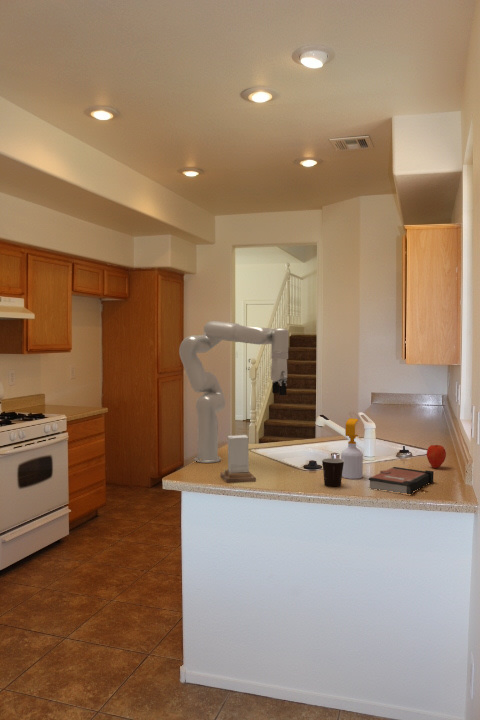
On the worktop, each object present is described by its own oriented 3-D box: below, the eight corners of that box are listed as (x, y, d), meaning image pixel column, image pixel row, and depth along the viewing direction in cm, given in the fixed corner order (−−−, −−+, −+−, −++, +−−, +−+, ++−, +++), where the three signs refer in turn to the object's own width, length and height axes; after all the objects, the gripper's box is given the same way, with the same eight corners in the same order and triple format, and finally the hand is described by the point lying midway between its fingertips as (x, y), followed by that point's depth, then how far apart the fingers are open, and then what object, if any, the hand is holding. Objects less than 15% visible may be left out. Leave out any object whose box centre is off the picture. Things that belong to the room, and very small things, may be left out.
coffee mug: (326, 481, 243) (327, 457, 242) (346, 484, 238) (347, 459, 238) (315, 487, 233) (315, 462, 232) (335, 490, 228) (336, 465, 228)
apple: (438, 471, 264) (439, 446, 264) (422, 467, 271) (422, 444, 270) (449, 468, 270) (449, 444, 269) (432, 465, 276) (433, 442, 276)
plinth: (220, 476, 251) (220, 469, 251) (247, 474, 254) (248, 467, 254) (227, 482, 239) (227, 475, 239) (255, 481, 242) (255, 474, 242)
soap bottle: (365, 475, 254) (366, 418, 253) (358, 480, 246) (359, 421, 245) (345, 473, 258) (346, 417, 257) (337, 477, 250) (338, 419, 249)
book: (392, 477, 254) (392, 465, 254) (433, 483, 244) (433, 471, 244) (366, 489, 233) (366, 476, 233) (410, 496, 223) (410, 483, 222)
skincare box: (246, 469, 250) (247, 434, 249) (249, 473, 244) (249, 437, 243) (227, 470, 249) (227, 434, 248) (228, 473, 243) (229, 437, 242)
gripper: (265, 355, 273) (265, 392, 274) (277, 356, 256) (277, 396, 257) (281, 355, 275) (280, 392, 276) (294, 356, 258) (293, 395, 259)
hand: (279, 394), depth 266 cm, fingers open, 9 cm apart
